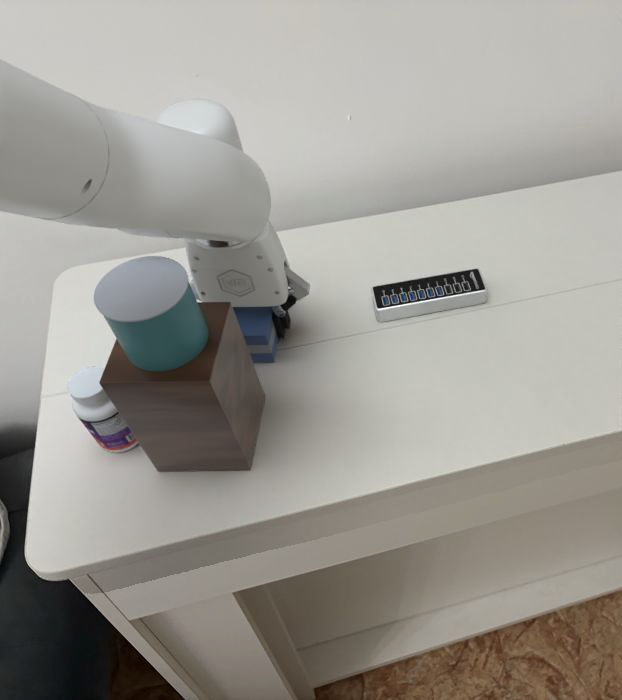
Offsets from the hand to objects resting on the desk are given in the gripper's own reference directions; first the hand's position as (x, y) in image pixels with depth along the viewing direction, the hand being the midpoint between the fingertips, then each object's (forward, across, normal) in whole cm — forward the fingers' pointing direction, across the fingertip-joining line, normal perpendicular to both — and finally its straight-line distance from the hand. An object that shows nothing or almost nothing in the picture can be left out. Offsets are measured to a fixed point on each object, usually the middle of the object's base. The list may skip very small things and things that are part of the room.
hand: (262, 329), depth 89 cm
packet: (0, 0, 0) cm, 0 cm away
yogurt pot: (-16, -3, -15) cm, 22 cm away
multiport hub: (+1, +21, +5) cm, 22 cm away
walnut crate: (0, -3, -15) cm, 15 cm away
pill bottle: (+1, -13, -15) cm, 20 cm away
